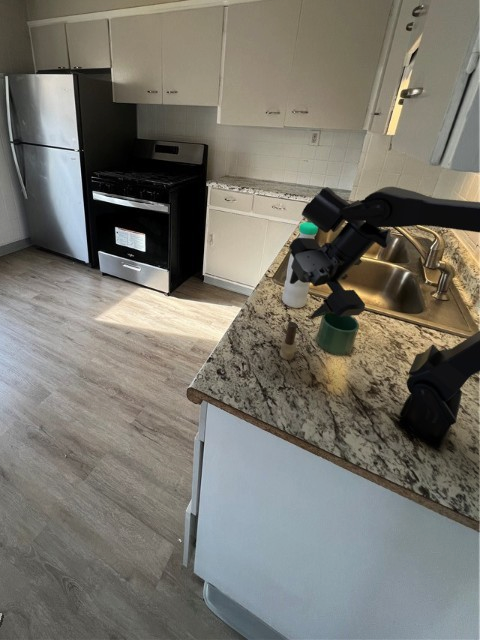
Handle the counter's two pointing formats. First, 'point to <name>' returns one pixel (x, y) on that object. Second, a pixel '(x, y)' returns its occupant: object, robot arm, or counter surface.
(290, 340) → the brush
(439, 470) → the counter surface
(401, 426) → the robot arm
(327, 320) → the green plastic cup
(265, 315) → the counter surface
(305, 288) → the water bottle
